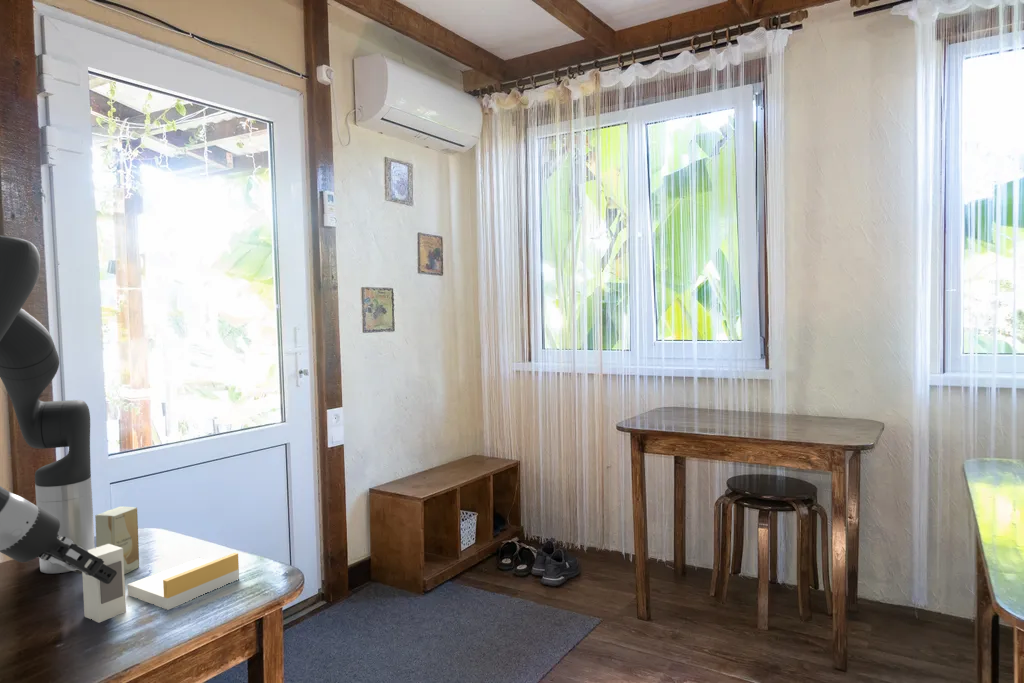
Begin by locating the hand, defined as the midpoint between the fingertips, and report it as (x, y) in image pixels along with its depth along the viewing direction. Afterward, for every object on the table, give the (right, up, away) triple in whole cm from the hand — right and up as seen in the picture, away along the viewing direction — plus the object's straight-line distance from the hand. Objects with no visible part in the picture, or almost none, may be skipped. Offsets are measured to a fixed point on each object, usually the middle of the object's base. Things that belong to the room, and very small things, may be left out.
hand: (98, 573), depth 109 cm
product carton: (0, -7, +1) cm, 7 cm away
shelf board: (+9, -7, +11) cm, 16 cm away
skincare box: (-8, -7, +19) cm, 21 cm away
